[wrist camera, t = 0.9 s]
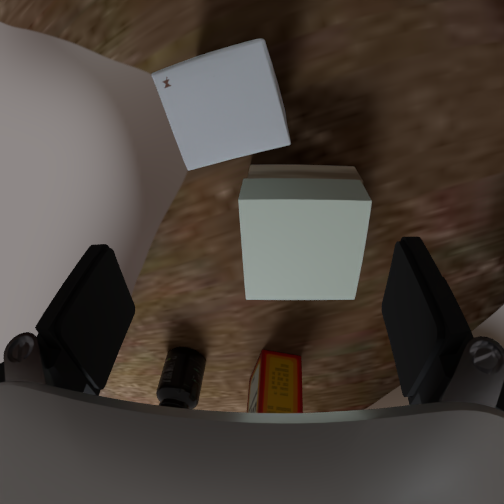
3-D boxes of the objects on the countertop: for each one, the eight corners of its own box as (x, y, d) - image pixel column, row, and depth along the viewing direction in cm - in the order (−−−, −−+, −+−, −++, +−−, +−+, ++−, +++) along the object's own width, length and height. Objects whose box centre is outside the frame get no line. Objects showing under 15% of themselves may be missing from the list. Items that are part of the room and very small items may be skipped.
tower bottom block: (250, 163, 34) (247, 179, 30) (353, 165, 33) (363, 181, 29) (254, 249, 40) (251, 272, 36) (343, 249, 39) (349, 272, 36)
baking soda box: (284, 384, 57) (282, 463, 43) (249, 379, 56) (242, 459, 43) (301, 356, 51) (303, 445, 38) (262, 349, 51) (256, 440, 38)
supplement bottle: (171, 366, 56) (156, 423, 46) (164, 343, 52) (146, 404, 42) (207, 370, 55) (197, 429, 46) (204, 348, 51) (191, 411, 42)
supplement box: (215, 129, 31) (183, 174, 21) (194, 62, 27) (146, 71, 17) (286, 111, 30) (293, 148, 20) (268, 42, 26) (263, 35, 16)
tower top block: (243, 178, 30) (238, 199, 26) (360, 179, 29) (371, 201, 25) (249, 271, 36) (246, 299, 33) (347, 271, 35) (354, 299, 32)
